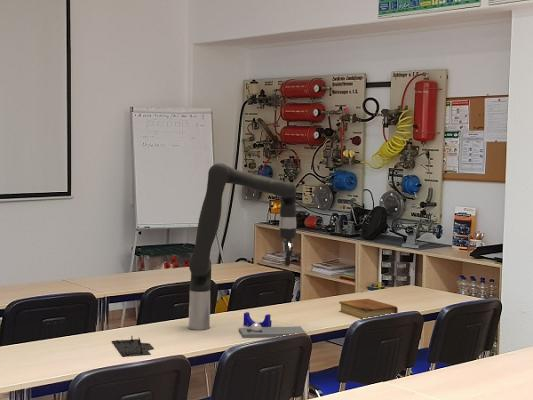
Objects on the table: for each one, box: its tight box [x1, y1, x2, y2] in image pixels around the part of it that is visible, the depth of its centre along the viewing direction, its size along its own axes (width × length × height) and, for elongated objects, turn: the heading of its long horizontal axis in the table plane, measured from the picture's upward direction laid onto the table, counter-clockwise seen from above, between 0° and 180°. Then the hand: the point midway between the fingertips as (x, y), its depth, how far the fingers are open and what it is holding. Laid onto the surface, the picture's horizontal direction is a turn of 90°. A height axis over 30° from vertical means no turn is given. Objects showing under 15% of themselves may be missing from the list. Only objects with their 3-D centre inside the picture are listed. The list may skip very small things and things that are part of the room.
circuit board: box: [111, 335, 155, 358], centre depth 339 cm, size 25×14×3 cm, turn 20°
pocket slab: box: [238, 325, 307, 339], centre depth 367 cm, size 28×13×2 cm, turn 99°
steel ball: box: [249, 322, 262, 333], centre depth 366 cm, size 5×5×5 cm
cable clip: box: [243, 311, 272, 327], centre depth 382 cm, size 12×4×6 cm, turn 69°
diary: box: [338, 298, 399, 320], centre depth 411 cm, size 23×19×6 cm
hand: (287, 265), depth 371 cm, fingers closed
